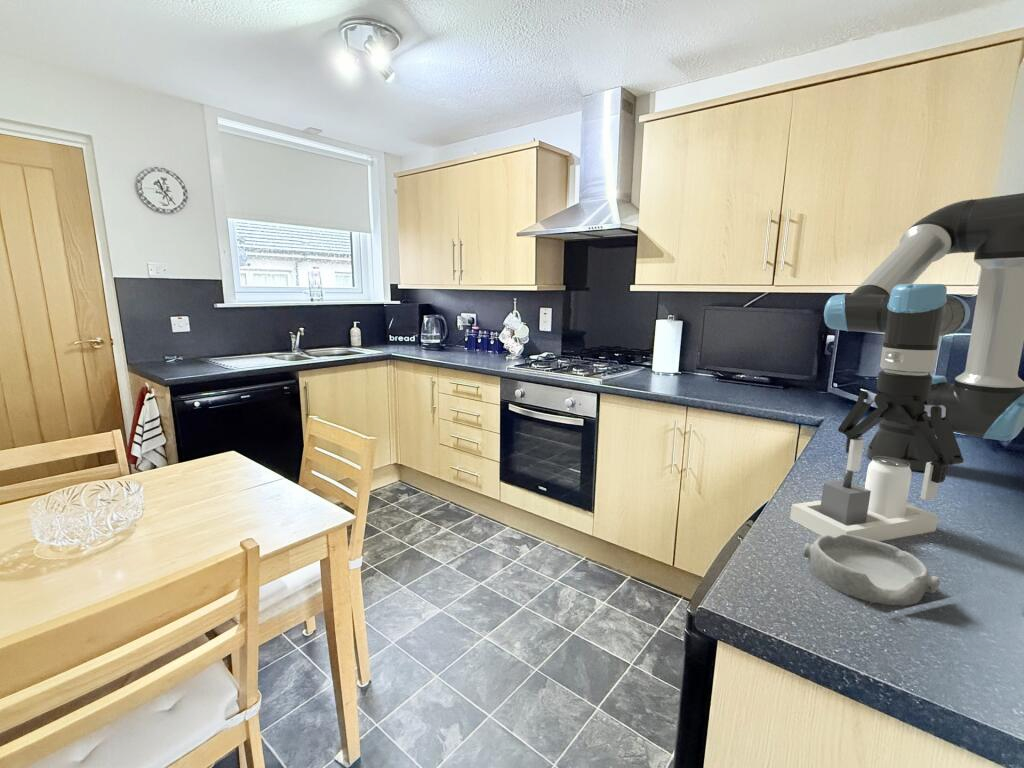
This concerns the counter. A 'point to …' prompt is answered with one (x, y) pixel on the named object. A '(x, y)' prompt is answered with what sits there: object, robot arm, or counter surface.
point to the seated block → (845, 501)
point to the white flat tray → (872, 529)
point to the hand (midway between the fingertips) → (887, 483)
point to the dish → (869, 569)
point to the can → (888, 486)
